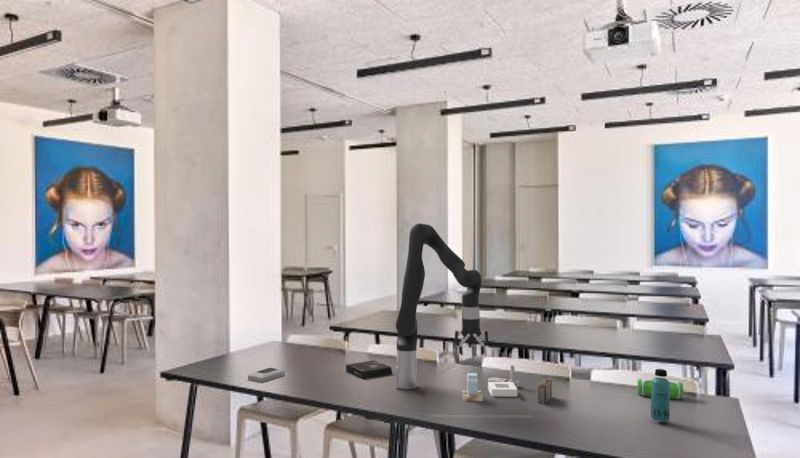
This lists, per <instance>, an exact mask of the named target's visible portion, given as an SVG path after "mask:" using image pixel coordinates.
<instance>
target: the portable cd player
mask: <svg viewBox="0 0 800 458" xmlns="http://www.w3.org/2000/svg"><path fill="white" fill-rule="evenodd" d="M345 372H346V373H348V374H350V375H353V376H355V377H357V378H359V379H362V380H366V379H370V378H371V377H372V378H377V377H383V376H388V374H389V375H392V374H393V370H392V366H389V365H387V364H385V363H382V362H379V361H377V360H374V359H373V360H367V361H361V362H354V363H349V364H346V365H345ZM382 375H383V376H382Z"/></svg>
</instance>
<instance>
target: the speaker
mask: <svg viewBox="0 0 800 458" xmlns="http://www.w3.org/2000/svg"><path fill="white" fill-rule="evenodd" d="M653 379H654V378H645V377H643V378H642V377H641V378H637V393H638V395H640V396H645V397H649V398H651V397H652V380H653ZM667 380H668V379H667ZM668 381H669V382H670V400H671V399H676V400H679V399H683V398H684V384H683V382H681V381H678V380H671V379H670V380H668Z"/></svg>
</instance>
